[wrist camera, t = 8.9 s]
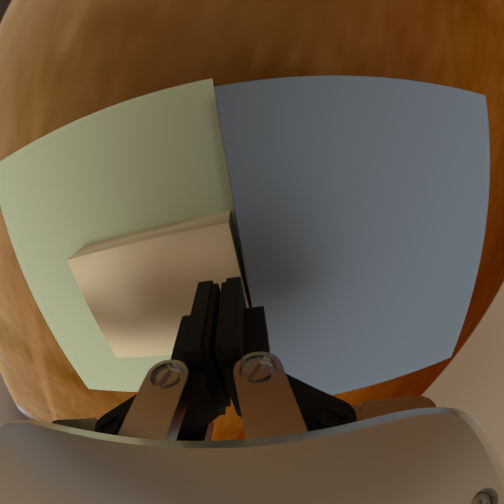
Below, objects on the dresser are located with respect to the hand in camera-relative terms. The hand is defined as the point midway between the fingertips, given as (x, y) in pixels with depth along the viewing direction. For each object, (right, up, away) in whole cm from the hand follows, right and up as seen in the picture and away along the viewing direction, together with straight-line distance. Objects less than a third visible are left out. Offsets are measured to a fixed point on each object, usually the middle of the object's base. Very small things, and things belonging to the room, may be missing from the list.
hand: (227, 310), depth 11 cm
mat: (-7, 0, +5) cm, 9 cm away
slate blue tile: (+8, +3, +4) cm, 9 cm away
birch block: (-4, 0, +4) cm, 6 cm away
